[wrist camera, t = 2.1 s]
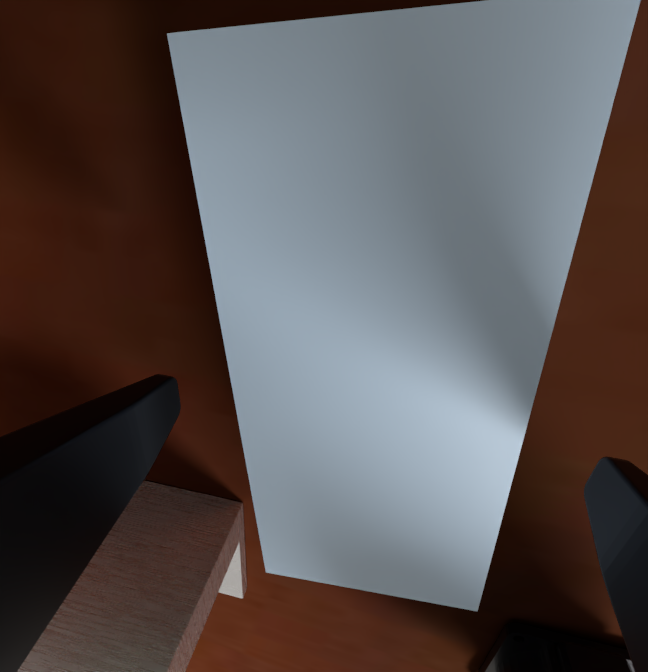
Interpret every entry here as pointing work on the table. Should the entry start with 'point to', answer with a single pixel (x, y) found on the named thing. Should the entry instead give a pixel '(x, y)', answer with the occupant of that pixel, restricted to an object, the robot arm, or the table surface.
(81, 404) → the robot arm
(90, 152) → the table surface
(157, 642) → the l-shaped bookend
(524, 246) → the light blue rectangular block
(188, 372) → the table surface
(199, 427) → the table surface
